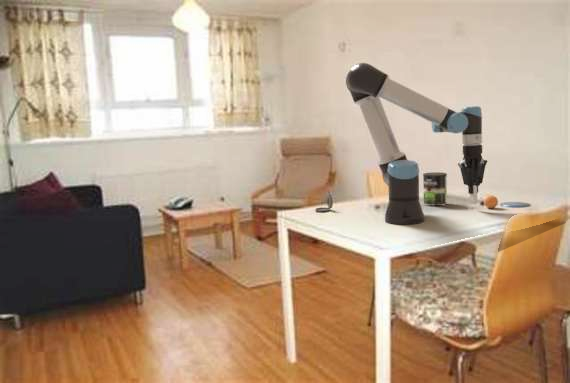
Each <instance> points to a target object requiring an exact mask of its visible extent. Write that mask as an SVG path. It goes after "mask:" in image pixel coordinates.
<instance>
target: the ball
mask: <svg viewBox="0 0 570 383" xmlns="http://www.w3.org/2000/svg"><path fill="white" fill-rule="evenodd" d="M498 199H499V198H497V197H496V196H495V195H491V194H490V195H487V196H486V197H485V198H484V200H483V203H484V206H485V207H486V208H487V209H494V208H496V207H497V206H498V204H499V200H498Z"/></svg>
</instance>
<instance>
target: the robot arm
mask: <svg viewBox="0 0 570 383" xmlns="http://www.w3.org/2000/svg"><path fill="white" fill-rule="evenodd" d="M345 78H346V79H345V85H346V88H347V89H348V91H349V92H350V95H351V97H352V100H353V103H354V104H356V105H358V106H359V108H360V110H361V113H362V115H363V118H364V120H365V123H366V125H367V128H368V131H369V133H370V136H371V139H372V142H373V144H374V145H375V148H376V151H377V154H378V156H379V160H378V161H379V162H378V163H377V164H378V167H379V169H380V172H381V173H382V180H383V182H384V183H385V184H386V185H387V187H388V204H387V207H386V211H385V214H384V222H386V223H388V224H393V225H395V224H396V225H414V224H415V225H416V224H420V223H423V222H424V221H425V213H424V212H423V208H422V204H421V203H420V202H421V201H420V176H419V175H420V168H419V164H418V162H416V161H415V160H410V159H408V157H407V155H406V153H404V152H403V151H401V149H400V148H399V145H398V143H397V140H396V138H395V134H394V132H393V130H392V127H391V124H390V122H389V120H388V117H387V113H386V111H385V108H384V106H383V103H382V101H381V99H383V100H386V101H387V102H389V103H392V104H393V105H395V106H397V107H399V108H402V109H404V110H405V111H407V112H409V113H412V114H413V115H416V116H418V117H420V118H422V119H424V120H426V121H428V122H430V123H431V128H432V129H431V130H432V132H434V133H440V134H442V133H452V134H460V133H461V134H462V136H461V137H462V141H461V142H462V145H463V146H462V155H463V157H462V160H461V162H458V163H457V165H458V167H459V169H460V173H461V177H462V181H463V185H465V186H467V187H468V192H467V193H468V194H469V202H472V203H473V202H474V203H475V202H478V193H479V186H480V185H481V184H483V181H484V175H485V170H486V165H487V163H488V160H486V159H483V156H482V154H483V145H482V144H483V132H482V131H483V130H482V129H483V126H482V125H483V124H482V122H483V120H482V119H483V116H482V113H483V112H482V108H481V107H480V106H479V105H477V106H465V107H462V108H461V111H460V112H456V111H455V110H452V109H450V108H449V107H447V106H446V105H443V104H442V103H439V102H437V101H435V100H433V99H431V98H429V97H427V96H424V95H423V94H420V93H419V92H417V91H415V90H413V89H410V88H408V87H407V86H405V85H403V84H401V83H399V82H397V81H395V80H392V79H391V78H390V76H389V74H387V73H385V72H384V71H382V70H379V69H378V68H377V67H375V66H373V65H371V64H370V63H368V62H367V63H366V62H360V63H359V62H358V63H357V64H355V65H354V66H352V67H351V68H350V70H349V71H348V73H347V74H346V77H345ZM380 98H381V99H380Z"/></svg>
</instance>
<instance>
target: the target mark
mask: <svg viewBox="0 0 570 383" xmlns="http://www.w3.org/2000/svg"><path fill="white" fill-rule="evenodd" d="M531 205H532V204H531V203H528V202H524V201H523V202H521V201H506V202H500V203H499V206H501V207H505V208H528V207H530V206H531Z"/></svg>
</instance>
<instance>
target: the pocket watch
mask: <svg viewBox="0 0 570 383" xmlns="http://www.w3.org/2000/svg"><path fill="white" fill-rule="evenodd" d="M327 192H328V193H327V195H326V205H327V207H317V208H315V210H314V211H316V212H317V213H318V212H319V213H325V212H329V211H330V210H331V209H332V208H333V205H334V203H333V197H332V194H331V193H330V192H331V190H330V189H328V190H327Z"/></svg>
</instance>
